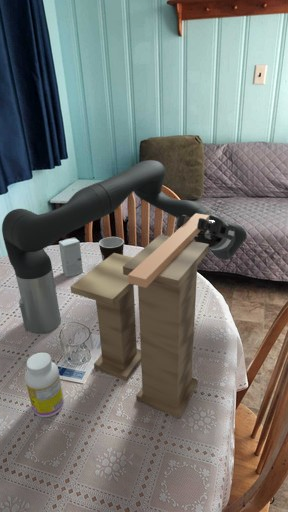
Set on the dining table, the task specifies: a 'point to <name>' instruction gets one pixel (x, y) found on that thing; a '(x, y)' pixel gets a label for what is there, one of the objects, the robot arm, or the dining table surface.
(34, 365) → the supplement bottle
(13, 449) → the dining table surface
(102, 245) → the coffee mug
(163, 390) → the pedestals
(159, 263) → the slat
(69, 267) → the skincare box
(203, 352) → the dining table surface
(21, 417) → the dining table surface
